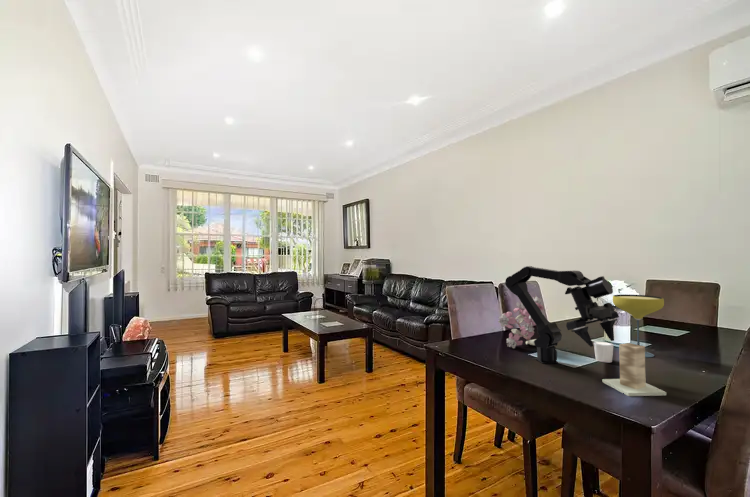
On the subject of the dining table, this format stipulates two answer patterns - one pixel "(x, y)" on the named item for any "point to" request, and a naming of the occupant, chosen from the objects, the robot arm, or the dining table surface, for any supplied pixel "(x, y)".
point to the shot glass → (603, 351)
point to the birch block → (632, 365)
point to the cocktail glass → (639, 308)
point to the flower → (525, 330)
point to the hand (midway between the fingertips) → (602, 343)
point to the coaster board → (629, 391)
